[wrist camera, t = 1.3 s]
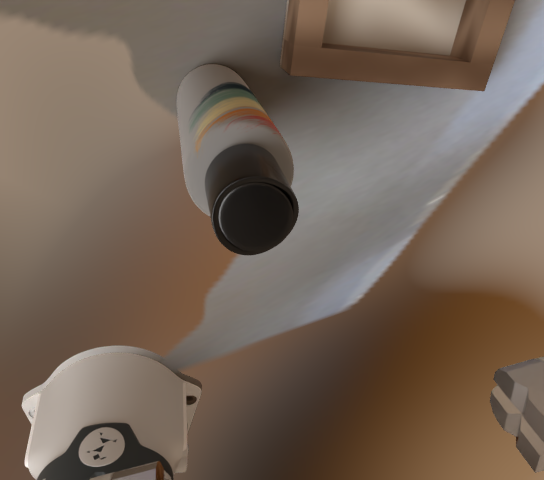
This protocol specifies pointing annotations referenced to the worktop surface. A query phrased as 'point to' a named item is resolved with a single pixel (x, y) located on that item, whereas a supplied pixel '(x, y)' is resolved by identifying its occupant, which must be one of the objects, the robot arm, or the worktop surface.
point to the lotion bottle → (235, 161)
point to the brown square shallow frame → (395, 40)
